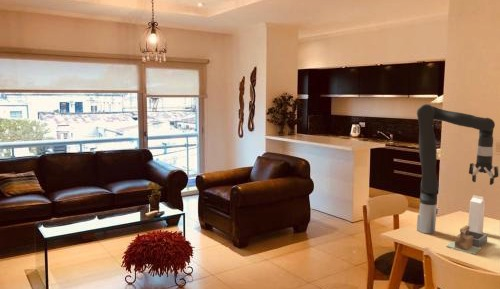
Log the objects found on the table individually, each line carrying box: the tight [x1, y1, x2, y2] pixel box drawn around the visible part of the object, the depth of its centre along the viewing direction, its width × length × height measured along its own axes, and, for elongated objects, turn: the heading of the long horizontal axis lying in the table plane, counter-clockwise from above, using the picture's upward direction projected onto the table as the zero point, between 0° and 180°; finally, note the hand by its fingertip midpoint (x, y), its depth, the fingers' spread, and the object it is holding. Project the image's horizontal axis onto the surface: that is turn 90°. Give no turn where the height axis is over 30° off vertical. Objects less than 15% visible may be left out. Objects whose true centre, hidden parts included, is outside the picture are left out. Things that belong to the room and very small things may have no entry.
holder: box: [464, 231, 488, 248], centre depth 227 cm, size 10×12×4 cm
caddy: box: [454, 225, 473, 251], centre depth 218 cm, size 6×8×11 cm
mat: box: [445, 240, 482, 255], centre depth 219 cm, size 14×10×1 cm
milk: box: [467, 194, 486, 234], centre depth 242 cm, size 6×6×22 cm
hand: (482, 183), depth 228 cm, fingers open, 8 cm apart
